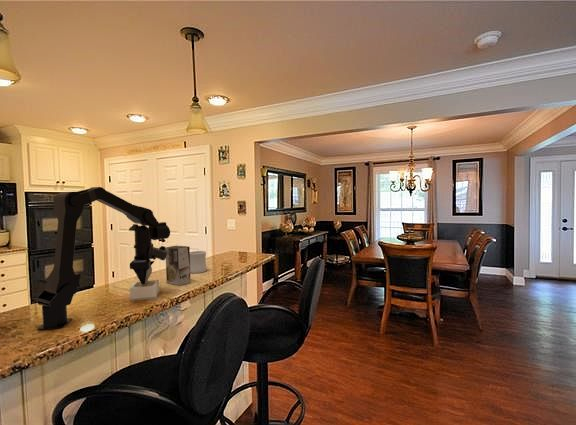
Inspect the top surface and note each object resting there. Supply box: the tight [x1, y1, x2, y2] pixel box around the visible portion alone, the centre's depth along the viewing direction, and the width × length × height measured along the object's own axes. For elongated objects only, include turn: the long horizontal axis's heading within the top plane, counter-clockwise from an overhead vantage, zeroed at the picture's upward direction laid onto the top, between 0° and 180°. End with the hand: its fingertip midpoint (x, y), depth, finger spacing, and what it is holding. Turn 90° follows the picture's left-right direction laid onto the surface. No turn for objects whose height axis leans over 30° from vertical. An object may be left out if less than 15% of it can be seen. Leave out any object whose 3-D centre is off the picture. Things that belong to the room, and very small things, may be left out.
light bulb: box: [142, 266, 153, 286], centre depth 115 cm, size 6×6×10 cm
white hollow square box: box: [129, 279, 160, 302], centre depth 115 cm, size 9×9×5 cm
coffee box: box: [165, 245, 192, 286], centre depth 133 cm, size 9×6×16 cm
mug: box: [190, 250, 208, 274], centre depth 153 cm, size 12×9×10 cm
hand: (144, 282), depth 115 cm, fingers closed on light bulb, 5 cm apart
